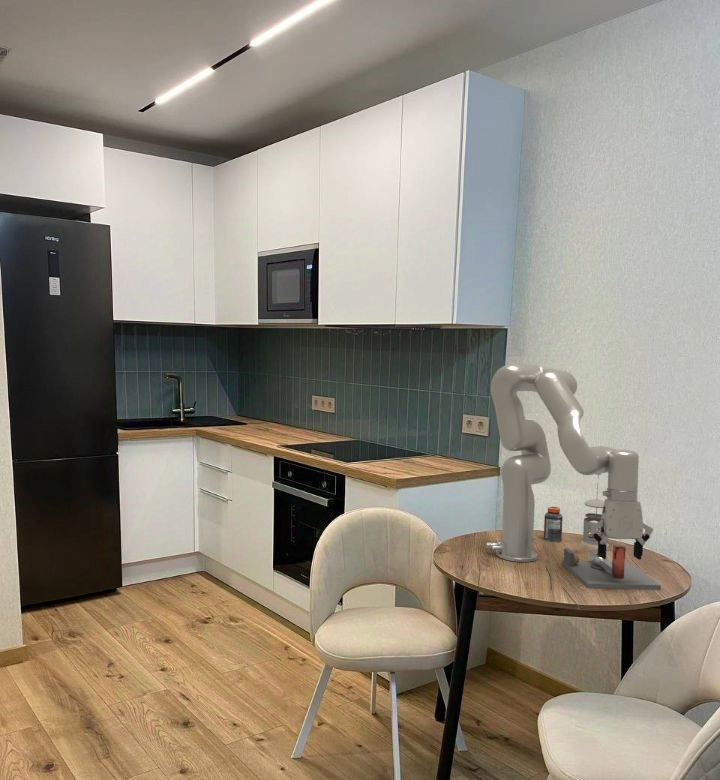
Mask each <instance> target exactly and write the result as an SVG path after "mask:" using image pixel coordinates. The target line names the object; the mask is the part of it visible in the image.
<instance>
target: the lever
mask: <svg viewBox="0 0 720 780" xmlns="http://www.w3.org/2000/svg"><path fill="white" fill-rule="evenodd" d="M626 548H627V547H626V546H625V545H621V544H612V561H609V556H608V555H606V559H602V558H601V557H600V556H599V554H598V549H588V558H589V560H590V561H592V564H594V565H597V566H601V567H603V568H604V569H605V570H606V571H608V572H609V573H610V574H611V575H612V577H613V578H616V579H624V570H625V562H626ZM611 562H612V563H611Z"/></svg>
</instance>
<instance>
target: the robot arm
mask: <svg viewBox="0 0 720 780" xmlns="http://www.w3.org/2000/svg"><path fill="white" fill-rule="evenodd" d="M577 391H578V382H577V379H576V378H575V376H574V375H573V374H571V372H569V371H566V370H561V369H557V368H556V369H555V368H551V367H547V366H543V365H537V364H525V363H524V364H523V363H511V364H506V365H503V366H501V367H500V368H499V369H497V371H496V372H495V373H494V375H493V376H492V379H491V383H490V392H491V398H492V400H493V401H492V403H493V404H494V409H495V416H496V421H497V427H498V433H499V437H500V438H499V439H500V443H501V445H502V447H503V449H505V450H506V451H509V452H520V453H521V454H519V455H518V454H517V455H513V456H511V457H509V458H507V459H506V460H505V461H504V462H503V464H502V466H501V471H500V472H501V474H500V475H501V476H500V477H501V481H502V491H503V492H502V493H503V495H502V496H503V497H502V521H501V523H502V524H501V525H502V526H501V528H502V529H501V538H499V539H498V541H495V542H492V541H486V543H485V547H486V549H491V550H492V551H495V555H496V556H497V557H498V558H501V559H503V560H506V561H511V562H517V563H518V562H520V563H529V562H534V561H536V560H537V559H538V556H539V555H538V553H537V552H536V551H534V549H533V547H534V526H535V502H536V501H535V494H534V490H533V487H532V486H533V485H537V484H542V483H543V482H545V481H547V480H548V478H549V477H550V475H551V470H552V467H551V466H552V464H551V459H550V453H549V449H548V448H549V447H548V443H547V437H546V434H545V431H544V429H543V428H542V426H541V425H540V424H539V423H538V422H537V421H534V420H531V419H526V418H525V412H524V406H523V404H522V401H521V400H520V398H519V397H518V395H517V394H518V392H535V393H537V394H538V397H539V398H540V399H541V400H542V402H543V405H544V406H545V407H546V409H547V410H548V412H549V414H550V416H551V417H552V419H553V420H554V422H555V423H556V425H557V435H558V436H557V437H558V443H559V446H560V449H561V450H562V453H563V454H564V455H565V458H566V459H567V460H568V462H569V464H570V465H571V467H572V468H573V469H574V470H575V471H576V472H577V473H579V474H581V475H583V476H592V475H596V474H599V473H601V474H605V473H606V474H607V488H606V490H603V491H602V496H603V497H606V498H605V499H604V500H603V501H604V505H603V508H602V510H601V514H602V516H601V521H599V522H597V521H596V522H594V523H595V524H593V525H591V526H589V530H590V532H591V533H590V534H592V536H593V537H594V538H595V539H596V541H597V542H598V548H597V550H598V554H599V556H600V557H601V558H602V559H606V556H607V548H606V544H605V542H606V541H607V540H609V539H616V540H634V541H635V542H634V543H633V557H634V558H636V559H637V560H639V561H640V560H642V556H643V555H644V554H643V551H644V545H645V544H646V542H647V541H648V540H649V539H650V538H651V535H652V533H653V532H654V528H653V527H651V526H649V525H647V524H646V523H643V519H644V518H643V511H642V504H641V501H638V483H639V462H640V461H639V459H640V458H639V454H638V453H637V452H636V451H633V450H628V449H616V448H612V447H609V446H604V445H602V446H601V445H598V446H589V444H588V442H587V441H586V440H585V438H584V436H583V434H582V432H581V429H580V422H581V419H582V418H583V417H584V414H585V413H584V409H583V406H582V405H581V404H580V402H579V400H578V399H577V397H576V396H575V394H576V392H577ZM599 528H601V534H600V535H598V533H597V532H596V530H598V529H599ZM607 542H608V541H607Z"/></svg>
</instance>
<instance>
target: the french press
mask: <svg viewBox="0 0 720 780" xmlns="http://www.w3.org/2000/svg"><path fill="white" fill-rule="evenodd" d="M595 475H597V478H599V476H601V475H602V473H599V474H595ZM596 485H597V487H596V489H597V490H596V498H593V499H589V500H586V501H584V502H583V504H584V505H585V506H586V507H590V508H595V513H593V512H592V513H591V512H589V513H585V514H584V516H585V518H583V528H582V529H583V530H582V531H583V532H582V536H583V537H582V539H581V540H580V541H579V544H580V543H581V544H580V545H582V544H584V545H587V546H592V547H598V542H597V541H596V539H595V538H594V537H593V536H592V534H591V532H590V530H589V526H591V525H593V524H595V523H597V522H599V521H601V516H602V513H598V509H603V505H604V501H605V500H603V499H598V494H599V484H596ZM593 521H594V522H593ZM596 532H597V534H598V535H600V534H601V528H599V529H597V530H596ZM608 540H609V539H608ZM608 540H607V541H606V542H605V544H606V547H608V546H609V545H610V544H609V543H608ZM584 545H583V546H584ZM587 546H586V547H587ZM592 547H591V548H592Z"/></svg>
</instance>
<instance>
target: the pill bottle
mask: <svg viewBox="0 0 720 780" xmlns="http://www.w3.org/2000/svg"><path fill="white" fill-rule="evenodd" d="M543 524H544V525H543V540H545V541H546V542H551V541H552V543H559V542H562V539H563V514H561V508H560V507H559V506H548V507H547V512H546V513H544V523H543Z"/></svg>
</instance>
